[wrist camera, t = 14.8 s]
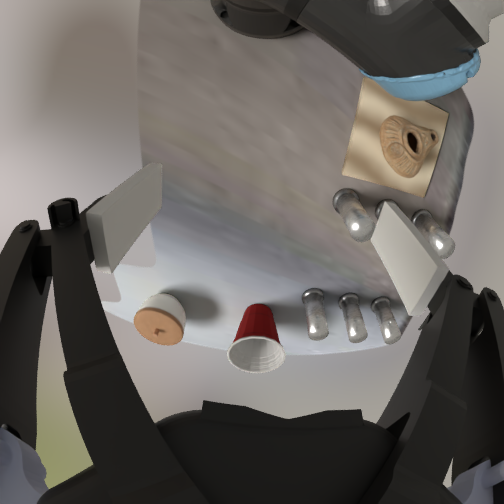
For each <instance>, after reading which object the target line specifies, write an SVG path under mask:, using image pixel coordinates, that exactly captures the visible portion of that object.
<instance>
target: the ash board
mask: <svg viewBox="0 0 504 504" xmlns="http://www.w3.org/2000/svg"><path fill="white" fill-rule="evenodd" d="M392 115H396V116H400V117H403V118H404V119H406V120H407V121H409V122H411V123H413V124H414V125H417V126H421V127H426V128H428V129H433V130H434V131H435V132H436V133H437V135H438V137H439V141H438V143H437V144H436V145H435V146H434V147H433V148H432V149H431V151H430V152H429V153H428V155H427V156H426V158H425V159H424V162H423V165H422V167H421V169H420V171H419V172H418V174H417V175H416V176H414V177H413V178H405V177H402V176H400V175H398V174H397V173H396V172H395V171H394V170H393V169H392V168H391V167H390V165H389V164H388V163H387V161H386V159H385V157H384V155H383V152H382V148H381V143H380V135H379V133H380V128H381V125H382V123H383V122H384V120H385V119H386V118H388V117H389V116H392ZM448 115H449V113H447V112H445V111H443V110H441V109H439V108H437V107H435V106H433V105H431V104H429V103H427V102H425V101H407V100H403V99H400V98H396V97H394V96H392V95H390V94H389V93H388V92H386V91H385V90H384V89H383V88H382V87H381V86H380V85H378V84H377V83H376V82H375V81H374V80H372V79H370V78H367V77H363V82H362V87H361V92H360V97H359V102H358V106H357V111H356V115H355V120H354V124H353V129H352V133H351V137H350V141H349V145H348V149H347V153H346V157H345V161H344V165H343V169H342V174H343V175H345V176H349V177H354V178H357V179H361V180H365V181H369V182H373V183H376V184H380V185H384V186H387V187H390V188H394V189H397V190H401V191H404V192H407V193H410V194H413V195H417V196H420V197H423V198H424V196H425V193H426V191H427V188H428V185H429V182H430V179H431V176H432V173H433V170H434V167H435V164H436V160H437V157H438V154H439V150H440V147H441V143H442V139H443V135H444V131H445V127H446V123H447V119H448Z"/></svg>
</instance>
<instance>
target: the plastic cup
mask: <svg viewBox="0 0 504 504" xmlns="http://www.w3.org/2000/svg"><path fill="white" fill-rule="evenodd" d="M285 356H286V353H285V351H284V349H283V346H282V345H281V344H280V341H279V338H278V333H277V329H276V325H275V322H274V318H273V314H272V312H271V309H270V308H269V307H267V306H266V305H263V304H254V305H251V306H249V307H248V308H247V309H246V311H245V312H244V315H243V318H242V321H241V323H240V326H239V328H238V331H237V334H236V337H235V339H234V341H233V343H232V344H231V346H230V347H229V349H228V350H227V358H228V360H229V361H230V363H231V364H232V365H234V366H235V367H236V368H238V369H240V370H243V371H246V372H249V373H264V372H269V371H272V370H274V369H276V368H278V367H279V366H280V365H281V364H282V363H283V362H284V360H285Z"/></svg>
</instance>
